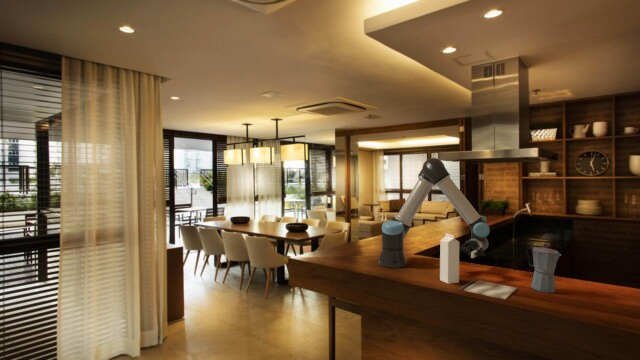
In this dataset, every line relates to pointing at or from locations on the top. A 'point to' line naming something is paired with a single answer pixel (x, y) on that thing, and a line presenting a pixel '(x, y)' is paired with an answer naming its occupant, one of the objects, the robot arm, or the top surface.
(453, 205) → the robot arm
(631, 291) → the top surface
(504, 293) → the mat
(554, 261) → the moka pot
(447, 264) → the milk
